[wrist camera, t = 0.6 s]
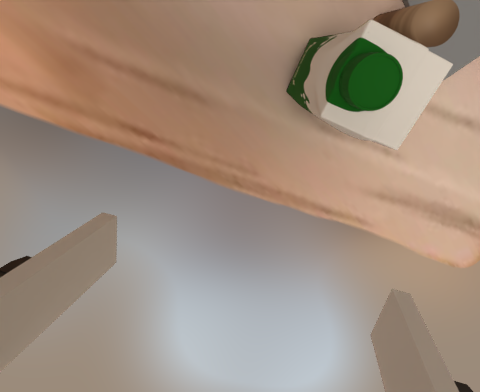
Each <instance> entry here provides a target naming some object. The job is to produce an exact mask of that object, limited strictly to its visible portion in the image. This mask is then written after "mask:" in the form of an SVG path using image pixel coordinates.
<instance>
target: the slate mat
mask: <svg viewBox="0 0 480 392" xmlns="http://www.w3.org/2000/svg"><path fill="white" fill-rule="evenodd" d="M428 1H432V0H403V3H404V5H405V7H409V6H413V5H417V4H421V3H424V2H428ZM453 1H454V2H455V3H456V5H457V6H458V9H459V14H460V17H459V23H458V26H457V29H456V31H455V32H454V34H453V35H452V36H451V38H450V39H449V40H448V41H446V42H445V43H443V44H441V45H439V46H436V47H427V48H428V49H429V50H428V51H430V52H432V53H434V54H436V55H438V56H439V57H441V58H443V59H445V60H447V61H449V62H450V63H452V64H453V66H452V67H451V69H450V70H449V72H448V73H447V75H446V76H445V78H444V79H443V80H445V79H446V78H448V77H449V76H451V75H452V74H454V73H455V72H457V71H458V70H460V69H461V68H462V67H464V66H465V65H467V64H468V63H470V62H471V61H473V60H474V59H476V58H477V57H479V56H480V0H453Z"/></svg>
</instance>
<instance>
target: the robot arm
mask: <svg viewBox="0 0 480 392" xmlns="http://www.w3.org/2000/svg"><path fill="white" fill-rule="evenodd" d="M116 242H117V216H114V215H111V214H106V213H101V214H99V215H98V216H96V217H95V218H93V219H92V220H90V221H89V222H87V223H85V224H84V225H82V226H81V227H79V228H77V229H76V230H74V231H73V232H71V233H70V234H68V235H67V236H65V237H63V238H62V239H60V240H59V241H57V242H56V243H54V244H52V245H51V246H49V247H48V248H46V249H44V250H43V251H42V252H40V253H38V254H37V255H35V256H34V257H29V256H26V257H23V258H20V259H17V260H14V261H11V262H10V263H8V264H6V265H4V266H3V267H1V268H0V372H1V371H2V370H3V369H4V368H5V367H6V366H7V365H8V364H9V363H10V362H12V361H13V360H14V359H15V358H16V357H17V356H18V355H19V354H20V353H21V352H22V351H23V350H24V349H25V348H26V347H27V346H28V345H29V344H30V343H32V342H33V341H34V340H35V339H36V338H37V337H38V336H39V335H40V334H41V333H42V332H43V331H44V330H45V329H46V328H47V327H49V326H50V325H51V324H52V322H54V321H55V320H56V319H57V318H58V317H59V316H60V315H61V314H62V313H63V312H64V311H65V310H67V309H68V308H69V307H70V306H71V305H72V304H73V303H74V302H75V301H76V300H77V299H78V298H79V297H80V296H81V295H82V294H83V293H84V292H86V291H87V290H88V289H89V288H90V287H91V286H92V285H93V284H94V283H95V282H96V281H97V280H98V279H99V278H100V277H101V276H102V275H104V274H105V273H106V272H107V271H108V270H109V269H110V268H111V267H112V266H113V265H114V264H115V263H116V246H117V243H116ZM371 339H372V343H373V346H374V350H375V353H376V358H377V362H378V365H379V369H380V373H381V377H382V381H383V384H384V389H385V392H473V391H472V390H471V389H470V387H468V385H466V384H463V383H459V382H456V381H454V380H453V379H452V376H451V375H450V372H449V370H448V369H447V367H446V365H445V362H444V360H443V358H442V356H441V354H440V352H439V351H438V349H437V347H436V345H435V343H434V340H433V339H432V336H431V334H430V333H429V330H428V328H427V326H426V324H425V322H424V320H423V318H422V316H421V314H420V312H419V311H418V308H417V306H416V304H415V303H414V301H413V298H412V296H411V294H409V293H406V292H401V291H398V290H394V289H392V290H391V292H390V294H389V296H388V298H387V301H386V303H385V305H384V307H383V309H382V311H381V314H380V316H379V318H378V320H377V322H376V324H375V327H374V329H373V331H372V333H371Z"/></svg>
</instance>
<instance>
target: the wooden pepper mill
mask: <svg viewBox="0 0 480 392" xmlns="http://www.w3.org/2000/svg"><path fill="white" fill-rule="evenodd" d="M459 17H460V14H459V9H458V6H457V5H456V3H455V2H454V1H453V0H432V1H428V2H424V3H421V4H417V5H413V6H409V7H406V8H402V9H398V10H395V11H391V12H387V13H384V14H380V15H378V16H376V17H375V18H374V19H373V20H374V21H376V22H378V23H380V24H382V25H384V26H386V27H388V28H390V29H392V30H394V31H396V32H398V33H400V34H401V35H403V36H405V37H407V38H409V39H411V40H413V41H416V42H418V43H420V44H422V45H423V46H425V47H436V46H439V45H441V44H443V43H445V42H446V41H448V40H449V39H450V38H451V36H452V35H453V34H454V32H455V31H456V29H457V26H458V23H459Z"/></svg>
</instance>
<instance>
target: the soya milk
mask: <svg viewBox="0 0 480 392" xmlns="http://www.w3.org/2000/svg"><path fill="white" fill-rule="evenodd" d="M428 50H429V49H428V48H427V47H425V46H423V45H422V44H420V43H418V42H416V41H413V40H411V39H409V38H407V37H405V36H403V35H401V34H400V33H398V32H396V31H394V30H392V29H390V28H388V27H386V26H384V25H382V24H380V23H378V22H376V21H374V20H369V21H367V22H366V23H364V24H363V25H362V26H361V27H359V28H358V29H356V30H355V31H352V32H347V33H341V34H336V35H330V36H324V37H318V38H312V39H310V40H309V43H308V45H307V47H306V49H305V51H304V54H303V56H302V58H301V60H300V62H299V64H298V67H297V69H296V71H295V73H294V75H293V78H292V80H291V82H290V84H289V86H288V89H287V91H286V92H287V93H288V94H289V95H290V96H291V97H292V98H293V99H294V100H295V101H296V102H297V103H298V104H299V105H301V106H302V107H303V108H305V109H306V110H308V111H309V112H311V113H312V114H314V115H315V116H317V117H318V118H320V119H321V120H323V121H324V122H326V123H328V124H330V125H331V126H333V127H334V128H336V129H337V130H339V131H341V132H343V133H345V134H347V135H350V136H352V137H354V138H357V139H360V140H368V141H372V142H375V143H378V144H381V145H383V146H386V147H389V148H392V149H394V150H398V148H399V147H400V145H401V144H402V142H403V141H404V139H405V138H406V136H407V135H408V133H409V132H410V130H411V129H412V127H413V126H414V124H415V122H416V121H417V119H418V118H419V116H420V115H421V113H422V112H423V110H424V109H425V107H426V106H427V104H428V102H429V101H430V99H431V98H432V96H433V95H434V93H435V92H436V90H437V89H438V87H439V86H440V84H441V83H442V81H443V79H444V78H445V76H446V75H447V73H448V72H449V70H450V69H451V67H452V66H453V64H452V63H450V62H449V61H447V60H445V59H443V58H441V57H439V56H438V55H436V54H434V53H432V52H430V51H428Z"/></svg>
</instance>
